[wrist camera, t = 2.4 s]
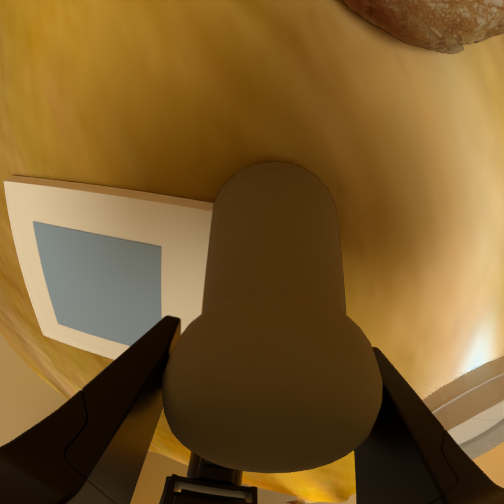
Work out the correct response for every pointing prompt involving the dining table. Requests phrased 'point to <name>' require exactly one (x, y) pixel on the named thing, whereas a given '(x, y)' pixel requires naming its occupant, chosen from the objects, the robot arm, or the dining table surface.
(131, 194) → the plate
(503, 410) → the dish
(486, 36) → the bread roll
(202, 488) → the robot arm
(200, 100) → the dining table surface
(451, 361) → the dining table surface
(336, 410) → the cork
